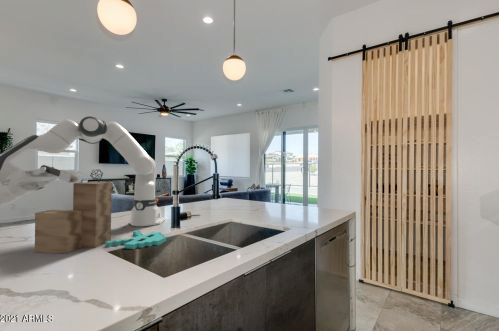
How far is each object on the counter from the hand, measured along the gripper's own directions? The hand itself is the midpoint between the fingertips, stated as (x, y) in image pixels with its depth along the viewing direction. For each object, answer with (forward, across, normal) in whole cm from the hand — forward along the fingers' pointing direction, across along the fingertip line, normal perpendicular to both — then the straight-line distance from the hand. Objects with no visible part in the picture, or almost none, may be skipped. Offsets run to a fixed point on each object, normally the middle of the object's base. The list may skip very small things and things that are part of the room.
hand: (49, 168), depth 113 cm
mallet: (+2, 0, +5) cm, 6 cm away
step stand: (-2, -4, +36) cm, 36 cm away
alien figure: (+18, +6, +48) cm, 52 cm away
